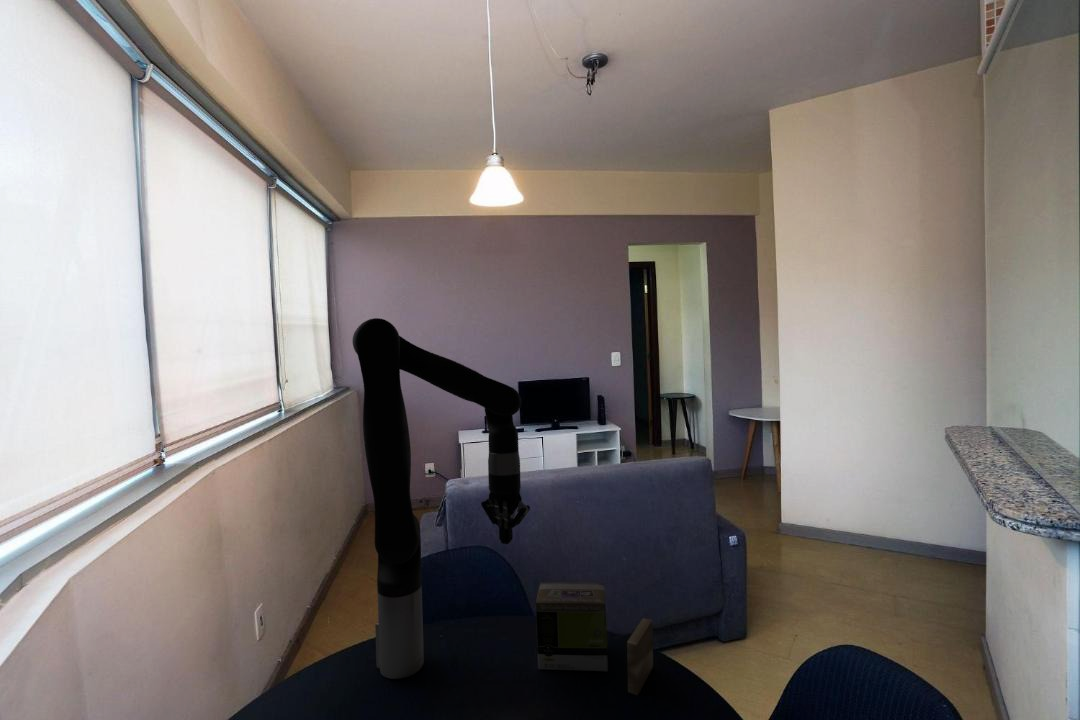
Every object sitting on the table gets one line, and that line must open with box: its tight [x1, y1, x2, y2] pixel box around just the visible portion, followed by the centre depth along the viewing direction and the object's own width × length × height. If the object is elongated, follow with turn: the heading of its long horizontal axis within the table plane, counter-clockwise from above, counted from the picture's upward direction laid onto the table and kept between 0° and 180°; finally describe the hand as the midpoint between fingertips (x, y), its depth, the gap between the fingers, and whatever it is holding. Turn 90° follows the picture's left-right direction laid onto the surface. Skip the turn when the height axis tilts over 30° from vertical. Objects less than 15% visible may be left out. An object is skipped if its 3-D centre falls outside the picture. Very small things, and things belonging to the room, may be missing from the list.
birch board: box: [626, 618, 654, 696], centre depth 102 cm, size 2×10×10 cm, turn 150°
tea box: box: [535, 581, 609, 672], centre depth 110 cm, size 15×10×15 cm, turn 84°
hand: (506, 542), depth 118 cm, fingers closed
